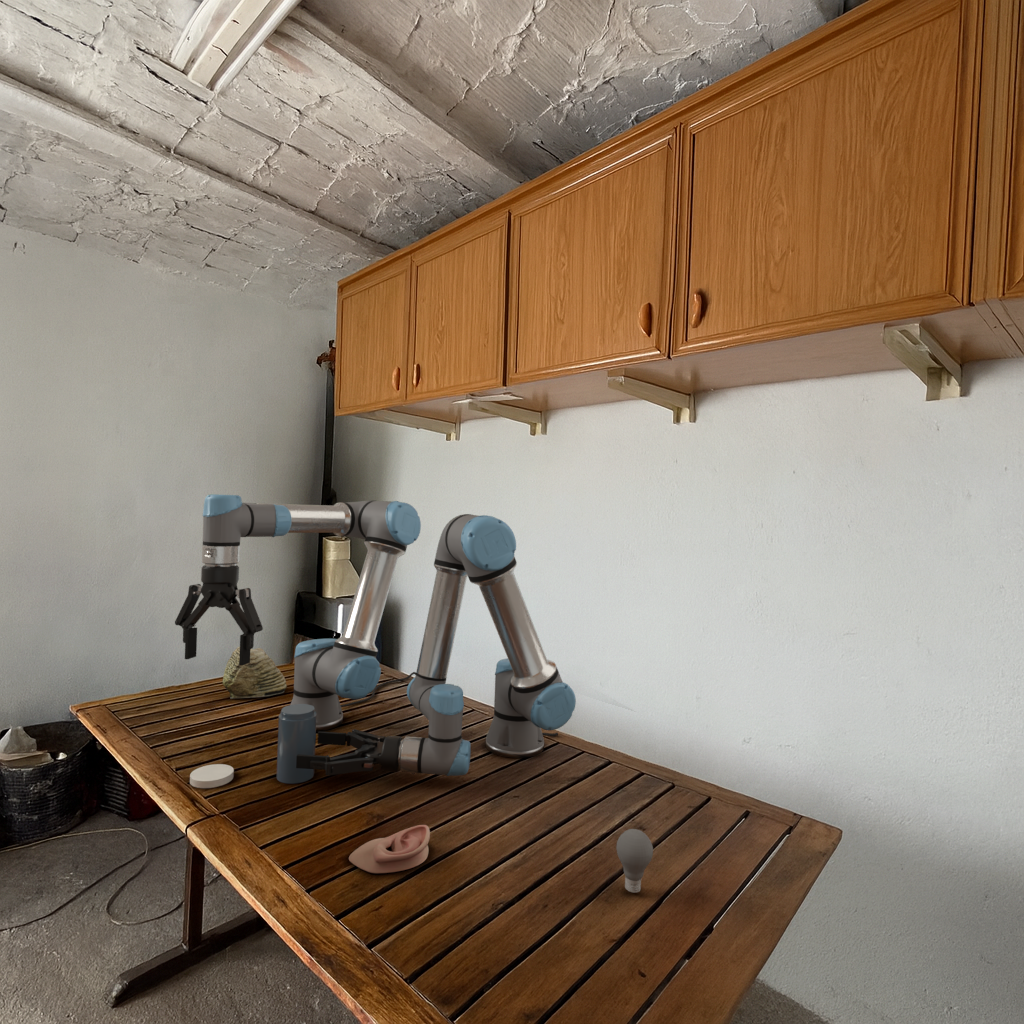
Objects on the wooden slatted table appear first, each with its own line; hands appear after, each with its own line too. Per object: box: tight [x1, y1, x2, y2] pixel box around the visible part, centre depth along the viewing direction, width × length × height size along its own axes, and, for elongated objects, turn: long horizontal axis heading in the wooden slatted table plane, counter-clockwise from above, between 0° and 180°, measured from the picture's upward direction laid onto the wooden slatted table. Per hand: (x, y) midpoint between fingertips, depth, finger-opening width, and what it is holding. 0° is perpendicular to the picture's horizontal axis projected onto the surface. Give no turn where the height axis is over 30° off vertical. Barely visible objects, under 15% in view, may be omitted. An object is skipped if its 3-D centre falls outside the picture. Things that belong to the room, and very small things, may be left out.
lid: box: [189, 763, 235, 789], centre depth 140 cm, size 9×9×2 cm
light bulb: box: [615, 828, 654, 894], centre depth 106 cm, size 6×6×10 cm
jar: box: [275, 704, 317, 785], centre depth 143 cm, size 8×8×15 cm
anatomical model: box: [348, 824, 431, 874], centre depth 113 cm, size 13×4×12 cm
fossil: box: [222, 646, 288, 699], centre depth 198 cm, size 9×18×15 cm, turn 132°
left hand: (217, 661), depth 139 cm, fingers open, 13 cm apart
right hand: (308, 748), depth 143 cm, fingers open, 13 cm apart
